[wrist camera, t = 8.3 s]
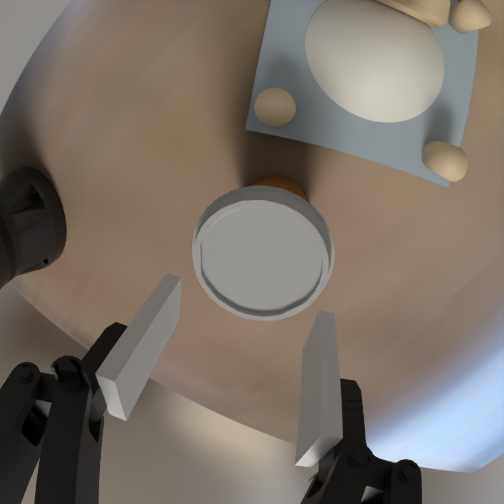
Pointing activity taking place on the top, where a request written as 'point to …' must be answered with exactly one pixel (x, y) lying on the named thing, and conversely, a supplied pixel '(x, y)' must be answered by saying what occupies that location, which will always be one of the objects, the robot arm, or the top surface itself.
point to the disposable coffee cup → (263, 250)
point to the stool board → (370, 82)
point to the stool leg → (423, 10)
